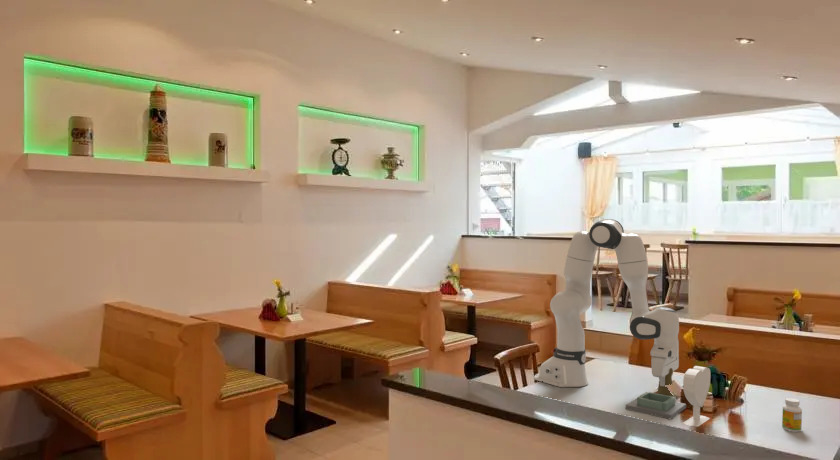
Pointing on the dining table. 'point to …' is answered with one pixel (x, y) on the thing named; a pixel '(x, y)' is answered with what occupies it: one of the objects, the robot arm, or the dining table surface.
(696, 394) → the heart sculpture
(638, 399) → the housing
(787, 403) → the supplement bottle
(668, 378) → the olive green tapered cylinder
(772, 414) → the dining table surface
